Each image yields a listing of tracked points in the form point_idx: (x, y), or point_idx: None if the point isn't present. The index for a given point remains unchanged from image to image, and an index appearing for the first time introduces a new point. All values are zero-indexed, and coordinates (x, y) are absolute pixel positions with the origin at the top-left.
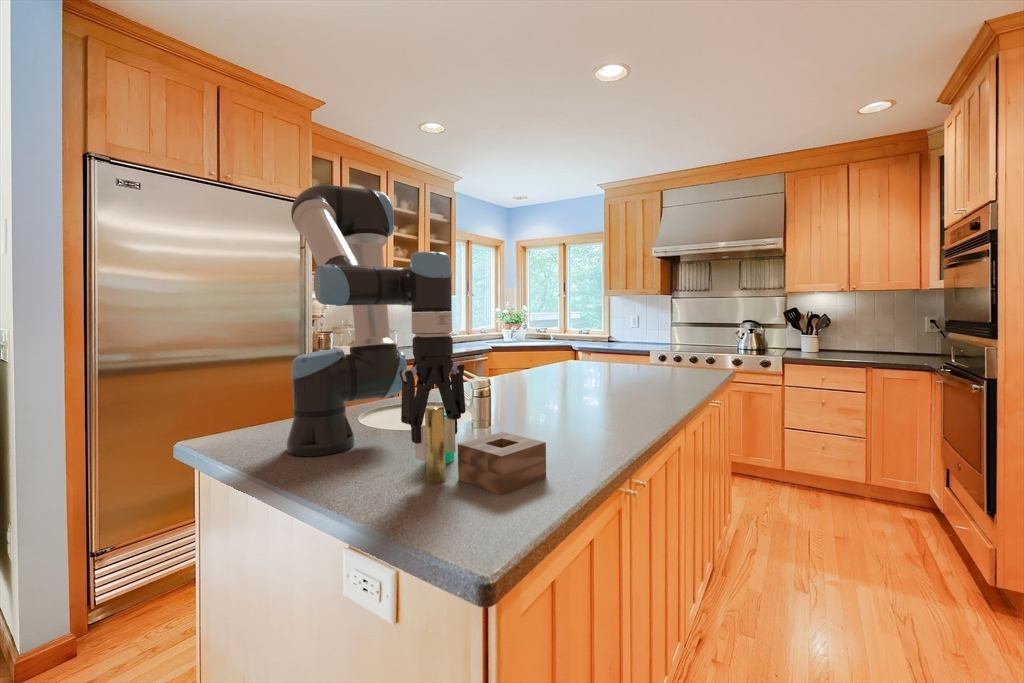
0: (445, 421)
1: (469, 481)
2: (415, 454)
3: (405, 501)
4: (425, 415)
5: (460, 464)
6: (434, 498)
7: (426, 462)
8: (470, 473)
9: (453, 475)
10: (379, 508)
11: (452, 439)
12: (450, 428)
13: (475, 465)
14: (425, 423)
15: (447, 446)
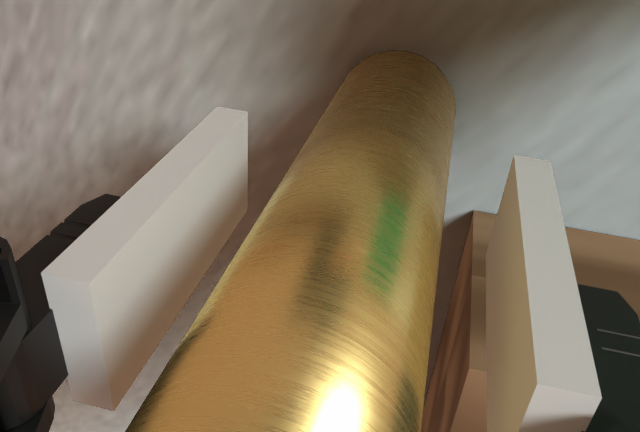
0: (517, 390)
1: (453, 295)
2: (205, 122)
3: (117, 179)
4: (132, 422)
5: (466, 286)
6: (223, 257)
7: (321, 117)
8: (450, 332)
9: (522, 141)
10: (5, 142)
11: (488, 333)
12: (490, 399)
13: (437, 407)
14: (192, 324)
15: (500, 227)
